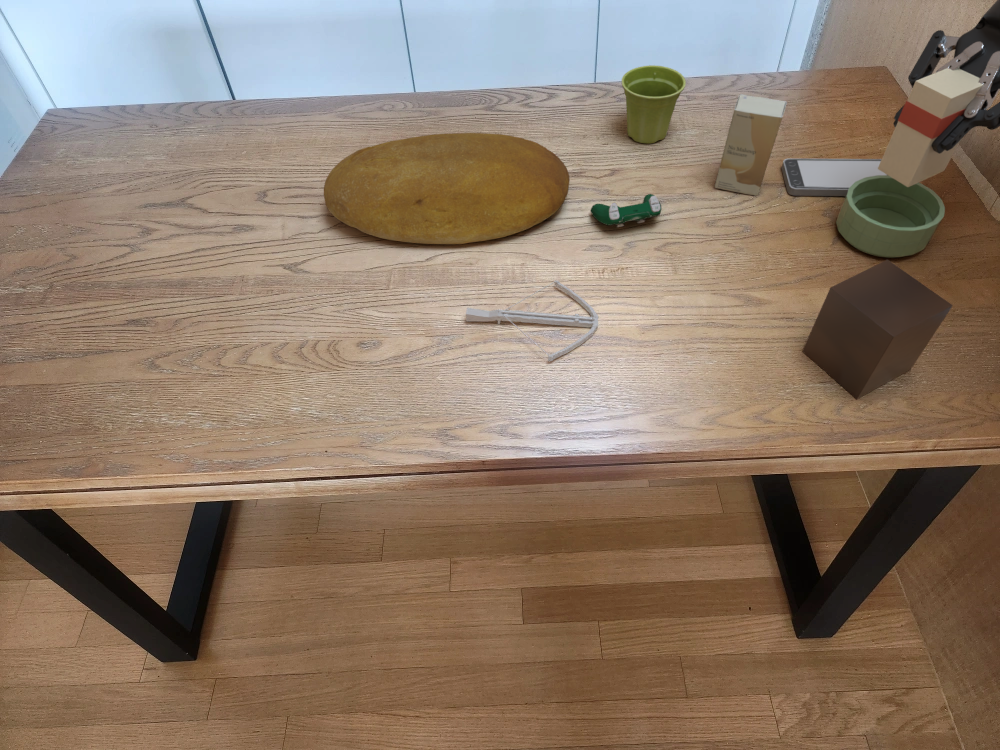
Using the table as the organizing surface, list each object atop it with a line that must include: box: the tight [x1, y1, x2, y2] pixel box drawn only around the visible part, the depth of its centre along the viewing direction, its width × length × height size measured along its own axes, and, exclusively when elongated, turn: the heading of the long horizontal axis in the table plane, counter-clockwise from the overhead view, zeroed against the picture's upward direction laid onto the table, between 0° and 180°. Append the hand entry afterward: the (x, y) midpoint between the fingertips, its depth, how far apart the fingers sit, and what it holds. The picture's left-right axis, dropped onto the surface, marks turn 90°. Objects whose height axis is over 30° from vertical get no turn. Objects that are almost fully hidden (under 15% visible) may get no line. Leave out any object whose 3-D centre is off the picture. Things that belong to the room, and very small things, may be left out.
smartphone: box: [780, 158, 889, 197], centre depth 94 cm, size 7×1×15 cm
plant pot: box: [621, 64, 687, 145], centre depth 102 cm, size 9×9×9 cm
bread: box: [323, 132, 570, 245], centre depth 92 cm, size 18×35×10 cm, turn 93°
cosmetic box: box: [714, 93, 788, 197], centre depth 91 cm, size 6×4×12 cm
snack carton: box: [878, 67, 985, 187], centre depth 75 cm, size 5×6×11 cm
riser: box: [802, 259, 953, 400], centre depth 70 cm, size 8×8×10 cm
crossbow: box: [465, 280, 599, 362], centre depth 80 cm, size 16×13×2 cm
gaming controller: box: [590, 193, 662, 228], centre depth 91 cm, size 9×4×6 cm
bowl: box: [835, 175, 946, 259], centre depth 85 cm, size 11×11×5 cm
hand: (916, 138), depth 75 cm, fingers closed on snack carton, 4 cm apart
